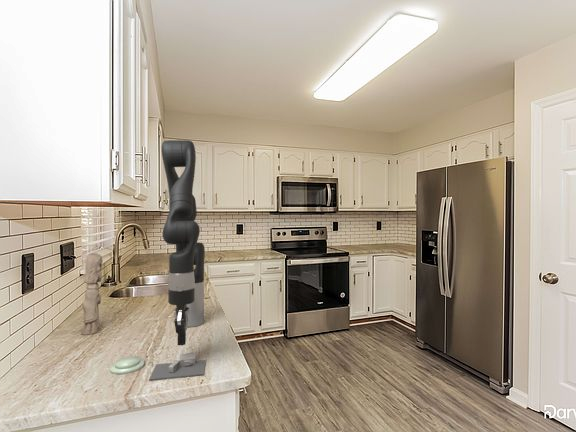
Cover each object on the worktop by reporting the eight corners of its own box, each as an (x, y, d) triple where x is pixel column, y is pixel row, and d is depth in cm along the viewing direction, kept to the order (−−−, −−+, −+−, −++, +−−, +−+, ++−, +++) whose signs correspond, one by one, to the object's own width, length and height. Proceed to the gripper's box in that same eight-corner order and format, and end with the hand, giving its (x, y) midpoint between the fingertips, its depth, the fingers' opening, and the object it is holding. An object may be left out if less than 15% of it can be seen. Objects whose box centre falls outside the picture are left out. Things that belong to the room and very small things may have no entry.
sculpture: (102, 332, 120) (102, 253, 121) (80, 336, 117) (80, 254, 117) (102, 327, 127) (102, 251, 127) (81, 330, 123) (82, 252, 124)
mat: (156, 365, 93) (156, 364, 93) (205, 361, 96) (205, 359, 96) (149, 380, 84) (149, 379, 84) (203, 375, 87) (203, 373, 87)
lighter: (194, 352, 97) (195, 363, 89) (194, 358, 97) (195, 369, 89) (169, 355, 95) (168, 367, 87) (169, 361, 94) (168, 373, 87)
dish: (115, 361, 96) (115, 355, 96) (147, 358, 97) (147, 352, 97) (104, 375, 87) (104, 369, 87) (140, 372, 89) (140, 366, 89)
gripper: (171, 283, 102) (172, 337, 101) (164, 292, 89) (164, 354, 88) (196, 282, 103) (196, 335, 103) (192, 290, 90) (192, 352, 90)
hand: (181, 344), depth 96 cm, fingers closed
